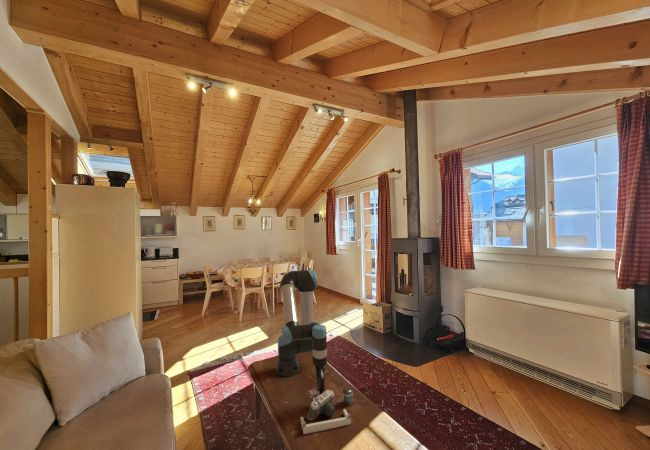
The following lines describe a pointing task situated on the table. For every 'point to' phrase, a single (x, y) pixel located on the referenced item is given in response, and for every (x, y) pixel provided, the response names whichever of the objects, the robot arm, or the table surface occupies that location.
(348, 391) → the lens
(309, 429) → the bracket
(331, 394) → the camera
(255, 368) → the table surface
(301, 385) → the table surface
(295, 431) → the table surface
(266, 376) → the table surface
